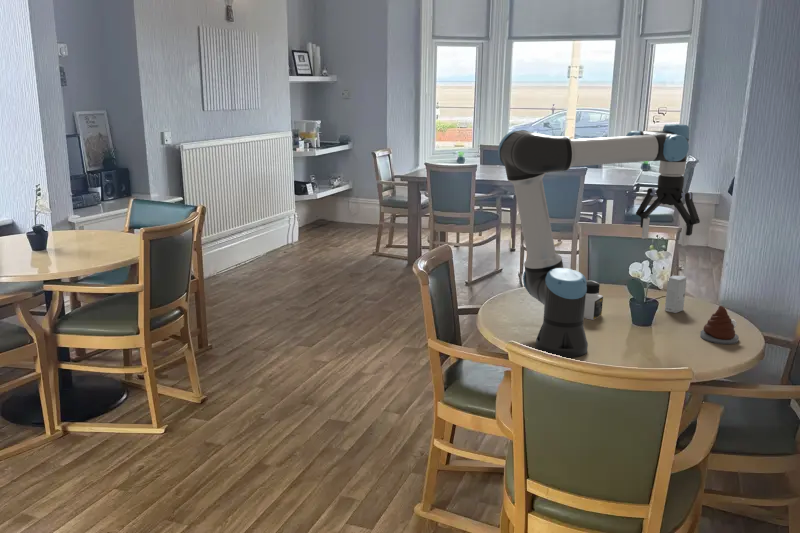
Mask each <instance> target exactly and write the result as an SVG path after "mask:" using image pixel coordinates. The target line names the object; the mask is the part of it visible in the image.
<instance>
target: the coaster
mask: <svg viewBox="0 0 800 533" xmlns="http://www.w3.org/2000/svg"><path fill="white" fill-rule="evenodd" d="M699 335H700V338H701V339H702V340H704V341H707V342H709V343H714V344H719V345H735V344H737V343H739V335H738V334H737V333H735V337H734V338H732V339H729V340H722V339H717V338H714V337H712V336H711V335H710V334H707V333H705V332H704V329H701V330H700V333H699Z"/></svg>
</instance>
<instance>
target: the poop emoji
mask: <svg viewBox="0 0 800 533" xmlns="http://www.w3.org/2000/svg"><path fill="white" fill-rule="evenodd" d="M728 314H729V313H728V311H727V309H726V307H724V306H722V305H719V306H718V308H717V309H716V311H715V313H712V314H711V316H710V318H709V319H707V323H705V324H704V326H703V330H704V332H705V333H707V334H710V335H711V336H712V337H714V338H717V339H722V340H729V339H732V338H734V337H735V334H736V331H735V328H736V326H737V324H738V323H737V321H736V320H735V319H731V318H730V315H728Z"/></svg>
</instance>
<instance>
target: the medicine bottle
mask: <svg viewBox="0 0 800 533" xmlns="http://www.w3.org/2000/svg"><path fill="white" fill-rule="evenodd" d="M586 286H587V292H586V299H585V311H584V319H586V320H590V321H591V320H592V321H594V320H596V319H597V318H599V317H600V316H602V314H603V312H602V311H603V303H604V302H603V301H604V300H603V299H604V295H602V294H600V287H601V285H600V284H599V282H597V281H595V280H586Z"/></svg>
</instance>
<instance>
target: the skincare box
mask: <svg viewBox="0 0 800 533" xmlns="http://www.w3.org/2000/svg"><path fill="white" fill-rule="evenodd" d="M669 277H670V278H669ZM669 277H668V278H669V281H668V280H667V284H666V294H665V303H664V304H665V307H664V311H666V312H670V313H674V314H677V313H679V312H682V311H684V308H685V297H686V287H687V286H686V285H687V277H686V276H684V275H683V276H682V275H676V274H675V275H672V276H669Z"/></svg>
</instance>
